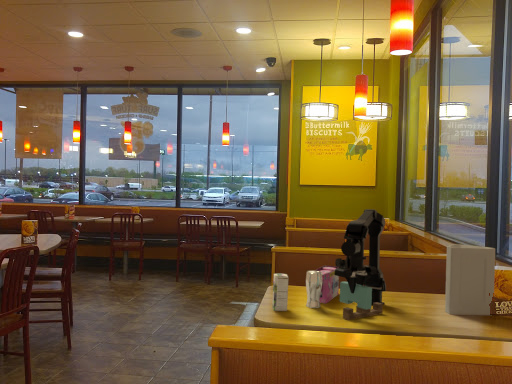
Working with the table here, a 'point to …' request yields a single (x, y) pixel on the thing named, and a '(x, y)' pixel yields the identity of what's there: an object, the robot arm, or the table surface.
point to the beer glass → (313, 288)
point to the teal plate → (356, 295)
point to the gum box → (328, 283)
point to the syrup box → (280, 292)
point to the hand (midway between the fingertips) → (355, 292)
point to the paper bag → (469, 279)
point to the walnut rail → (362, 311)
